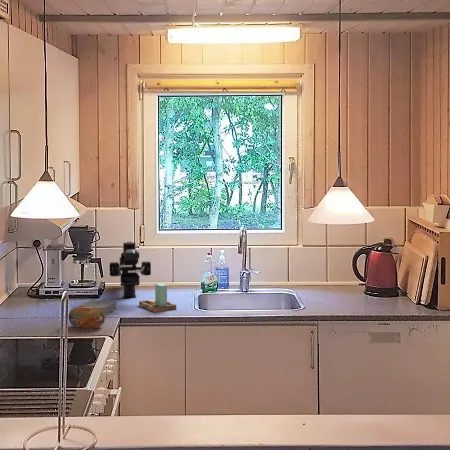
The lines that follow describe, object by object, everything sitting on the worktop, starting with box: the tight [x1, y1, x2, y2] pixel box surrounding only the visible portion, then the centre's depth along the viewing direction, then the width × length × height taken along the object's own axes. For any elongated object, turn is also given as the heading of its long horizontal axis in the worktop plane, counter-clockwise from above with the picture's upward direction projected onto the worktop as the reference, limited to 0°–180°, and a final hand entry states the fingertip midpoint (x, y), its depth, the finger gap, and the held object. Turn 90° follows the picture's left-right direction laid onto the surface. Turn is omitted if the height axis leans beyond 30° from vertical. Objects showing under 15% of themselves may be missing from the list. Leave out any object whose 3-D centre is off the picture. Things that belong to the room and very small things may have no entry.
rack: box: [138, 299, 177, 313], centre depth 330 cm, size 15×11×3 cm
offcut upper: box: [148, 299, 155, 305], centre depth 333 cm, size 4×4×1 cm
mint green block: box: [154, 283, 168, 306], centre depth 326 cm, size 5×3×11 cm, turn 33°
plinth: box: [78, 299, 117, 317], centre depth 323 cm, size 12×12×4 cm
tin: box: [68, 306, 106, 329], centre depth 299 cm, size 15×3×8 cm, turn 80°
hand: (130, 273), depth 328 cm, fingers open, 9 cm apart
